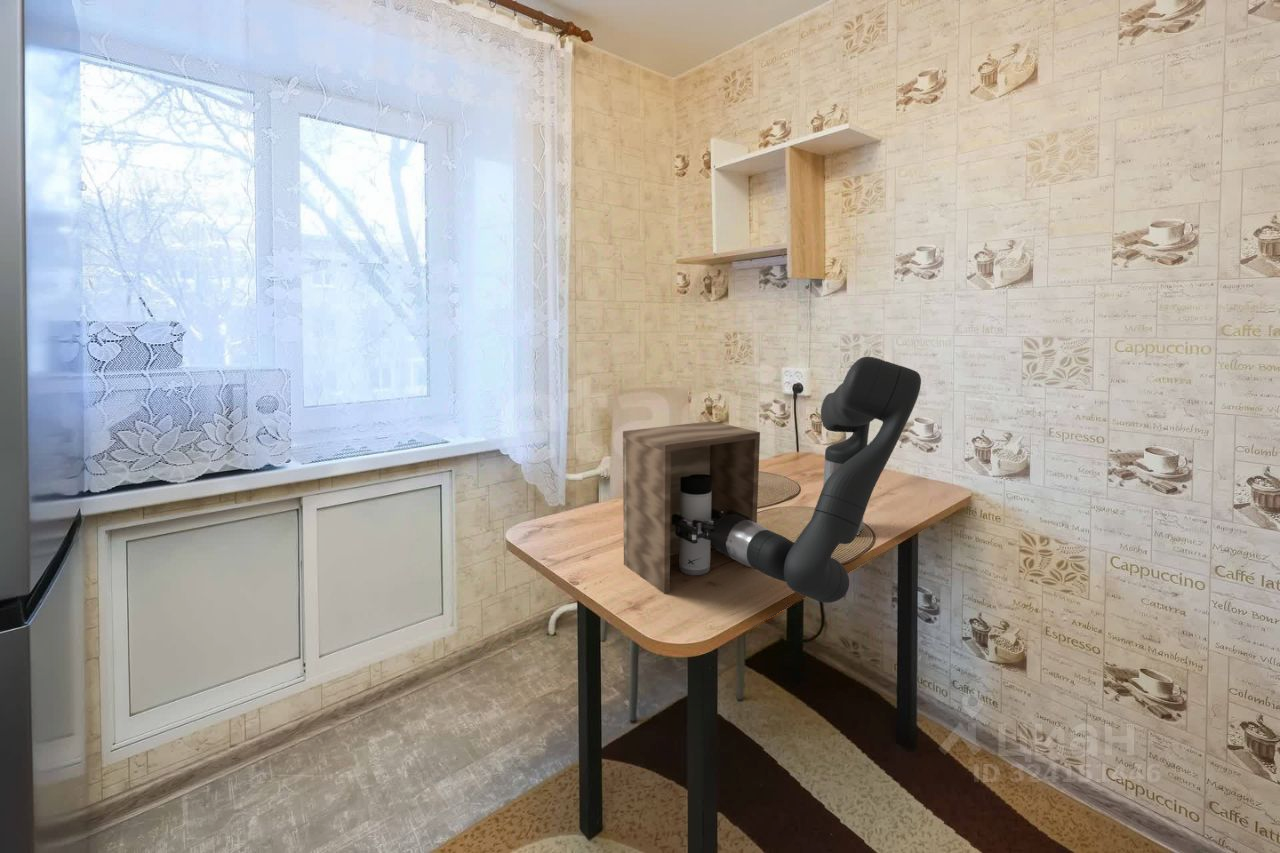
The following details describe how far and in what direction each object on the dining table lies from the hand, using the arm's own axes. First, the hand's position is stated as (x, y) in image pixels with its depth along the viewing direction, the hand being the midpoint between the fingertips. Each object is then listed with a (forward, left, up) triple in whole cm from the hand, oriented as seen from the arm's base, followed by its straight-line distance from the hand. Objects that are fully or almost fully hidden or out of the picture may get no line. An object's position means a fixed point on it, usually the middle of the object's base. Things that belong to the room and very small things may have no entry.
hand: (690, 515), depth 114 cm
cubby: (0, 0, -11) cm, 11 cm away
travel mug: (-2, +1, -11) cm, 11 cm away
